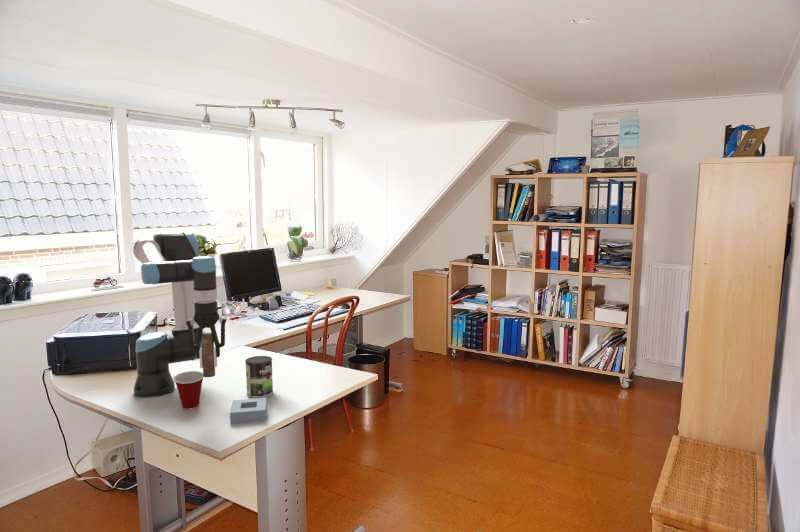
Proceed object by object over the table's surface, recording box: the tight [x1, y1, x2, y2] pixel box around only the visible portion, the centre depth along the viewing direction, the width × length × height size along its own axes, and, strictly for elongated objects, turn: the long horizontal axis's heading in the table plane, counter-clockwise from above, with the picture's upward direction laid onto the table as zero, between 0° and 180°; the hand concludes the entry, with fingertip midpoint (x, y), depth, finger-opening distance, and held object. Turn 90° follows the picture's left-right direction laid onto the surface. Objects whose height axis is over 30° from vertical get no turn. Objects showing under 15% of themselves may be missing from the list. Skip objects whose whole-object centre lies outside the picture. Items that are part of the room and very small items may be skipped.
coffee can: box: [244, 355, 274, 399], centre depth 212 cm, size 10×10×14 cm
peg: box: [201, 332, 216, 378], centre depth 186 cm, size 4×4×15 cm
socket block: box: [229, 397, 268, 425], centre depth 191 cm, size 12×12×4 cm
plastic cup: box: [172, 370, 204, 410], centre depth 199 cm, size 11×11×12 cm
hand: (208, 366), depth 187 cm, fingers closed on peg, 4 cm apart
